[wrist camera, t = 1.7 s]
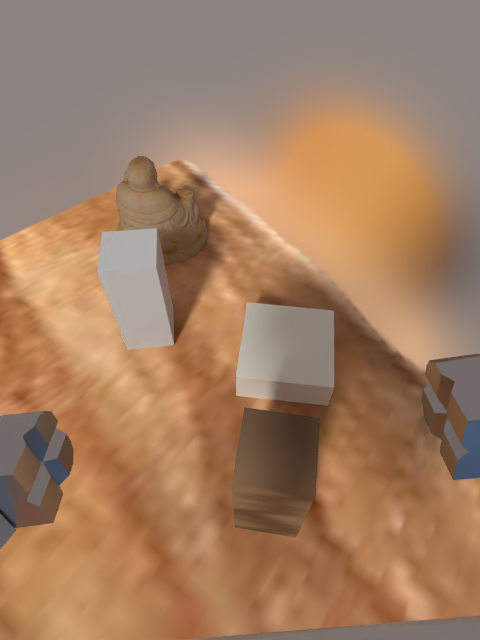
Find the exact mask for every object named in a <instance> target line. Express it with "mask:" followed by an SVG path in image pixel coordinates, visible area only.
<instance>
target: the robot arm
mask: <svg viewBox="0 0 480 640" xmlns="http://www.w3.org/2000/svg"><path fill="white" fill-rule="evenodd" d="M425 374H426V376H427V378H428V380H429V382H430V383H429V384H428V385H427V386H426V387H425V388H424V389H423V398H422V402H423V410H424V415H425V418H426V421H427V424H428V426H429V428H430V431H431V433H432V434H434V435H435V436H437V437H438V438H440V439H441V440H442V442H441V447H440V453H441V455H442V457H443V459H444V461H445V463H446V466H447V468H448V470H449V472H450V474H451V476H452V478H453V480H459V479H472V478H480V354H472V355H465V356H458V357H451V358H444V359H437V360H430V361H429V362H428V364H427V367H426V373H425ZM57 423H58V420H57V419H56V418H55V416H54V415H53V413H52V412H51V411H40V412H31V413H21V414H12V415H3V416H0V549H1V548H2V547H3V546H4V544H5V543H6V542H7V541H8V539H9V538H10V537H11V536H12V535H13V533H14V532H15V531H16V529H15V528H19V527H27V526H34V525H41V524H49V523H54V520H55V517H56V514H57V511H58V508H59V505H60V502H61V499H62V496H63V492H62V490H61V487H60V484H61V483H62V482H63V481H64V480H65V479H66V478H67V477H68V476H69V475H70V471H71V468H72V465H73V447H72V444H71V440H70V439H69V437H68V436H67V434H66V433H64V432H62V431H60V430H58V429H56V426H57ZM185 640H480V616H468V617H456V618H444V619H431V620H419V621H407V622H394V623H382V624H370V625H357V626H345V627H333V628H321V629H308V630H296V631H284V632H271V633H259V634H247V635H234V636H222V637H210V638H197V639H185Z"/></svg>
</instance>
